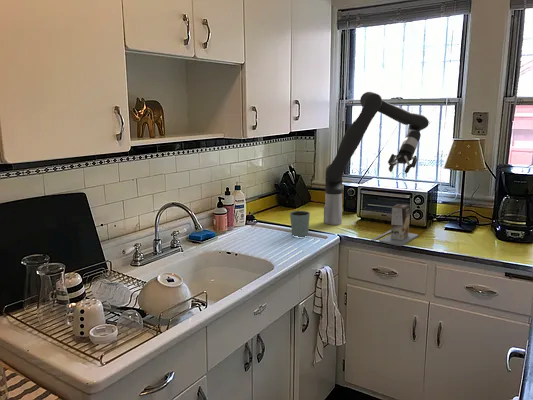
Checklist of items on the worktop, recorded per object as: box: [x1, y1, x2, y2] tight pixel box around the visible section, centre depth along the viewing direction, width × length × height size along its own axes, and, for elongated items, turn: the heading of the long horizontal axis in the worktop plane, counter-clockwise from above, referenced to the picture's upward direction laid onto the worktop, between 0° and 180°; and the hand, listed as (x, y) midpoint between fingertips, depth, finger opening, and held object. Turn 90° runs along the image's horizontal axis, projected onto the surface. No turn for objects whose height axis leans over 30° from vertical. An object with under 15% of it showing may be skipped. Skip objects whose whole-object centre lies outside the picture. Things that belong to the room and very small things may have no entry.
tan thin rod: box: [370, 229, 391, 242], centre depth 230 cm, size 2×22×1 cm, turn 139°
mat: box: [379, 232, 419, 247], centre depth 224 cm, size 11×20×1 cm, turn 139°
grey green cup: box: [289, 210, 311, 237], centre depth 232 cm, size 10×10×12 cm
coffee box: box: [390, 203, 411, 240], centre depth 223 cm, size 9×6×16 cm
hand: (397, 171), depth 235 cm, fingers open, 8 cm apart
